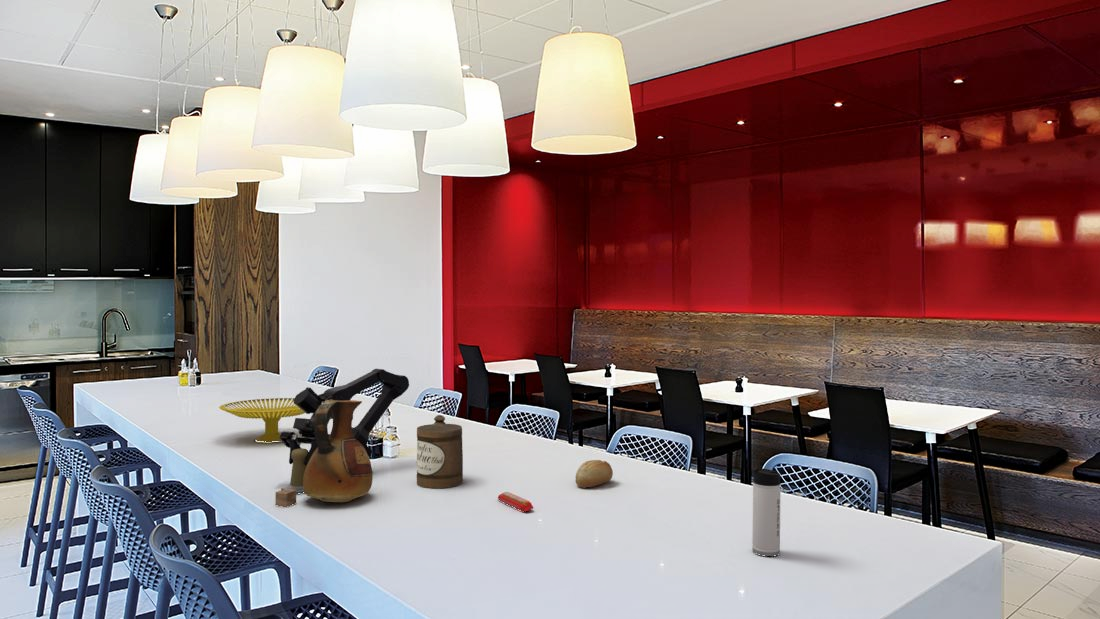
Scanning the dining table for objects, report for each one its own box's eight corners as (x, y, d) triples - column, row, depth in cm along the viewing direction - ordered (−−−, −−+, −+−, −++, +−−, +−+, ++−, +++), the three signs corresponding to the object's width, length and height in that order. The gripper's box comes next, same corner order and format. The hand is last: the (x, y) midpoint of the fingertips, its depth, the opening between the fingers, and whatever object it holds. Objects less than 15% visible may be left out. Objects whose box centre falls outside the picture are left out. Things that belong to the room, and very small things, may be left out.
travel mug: (747, 548, 177) (747, 466, 176) (773, 547, 177) (774, 465, 177) (756, 557, 170) (757, 472, 170) (784, 557, 171) (784, 471, 171)
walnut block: (285, 502, 214) (285, 488, 214) (296, 504, 212) (296, 490, 212) (275, 506, 210) (275, 492, 210) (286, 507, 209) (286, 493, 209)
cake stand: (302, 450, 286) (302, 412, 285) (200, 449, 286) (200, 411, 286) (334, 431, 326) (334, 398, 326) (244, 430, 326) (244, 397, 326)
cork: (304, 487, 224) (303, 451, 223) (286, 486, 225) (285, 450, 224) (314, 482, 229) (313, 447, 229) (296, 481, 231) (296, 446, 230)
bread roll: (620, 483, 238) (621, 458, 238) (592, 492, 227) (592, 466, 227) (597, 478, 245) (597, 454, 245) (568, 486, 234) (568, 461, 234)
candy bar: (495, 501, 217) (495, 491, 217) (506, 499, 219) (506, 489, 219) (524, 515, 204) (524, 504, 204) (535, 512, 206) (535, 502, 206)
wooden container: (407, 483, 237) (407, 415, 236) (443, 475, 248) (443, 410, 247) (436, 491, 227) (436, 420, 226) (472, 482, 238) (472, 415, 237)
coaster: (304, 485, 233) (304, 483, 233) (318, 490, 227) (318, 487, 227) (281, 490, 227) (281, 487, 227) (293, 495, 221) (293, 492, 221)
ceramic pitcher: (385, 493, 224) (385, 396, 223) (346, 512, 205) (346, 405, 204) (330, 488, 230) (331, 393, 229) (288, 505, 211) (288, 401, 210)
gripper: (282, 406, 233) (259, 447, 223) (333, 408, 227) (311, 451, 217) (298, 426, 241) (276, 467, 231) (347, 429, 235) (327, 471, 225)
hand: (297, 464), depth 226 cm, fingers closed on cork, 5 cm apart
